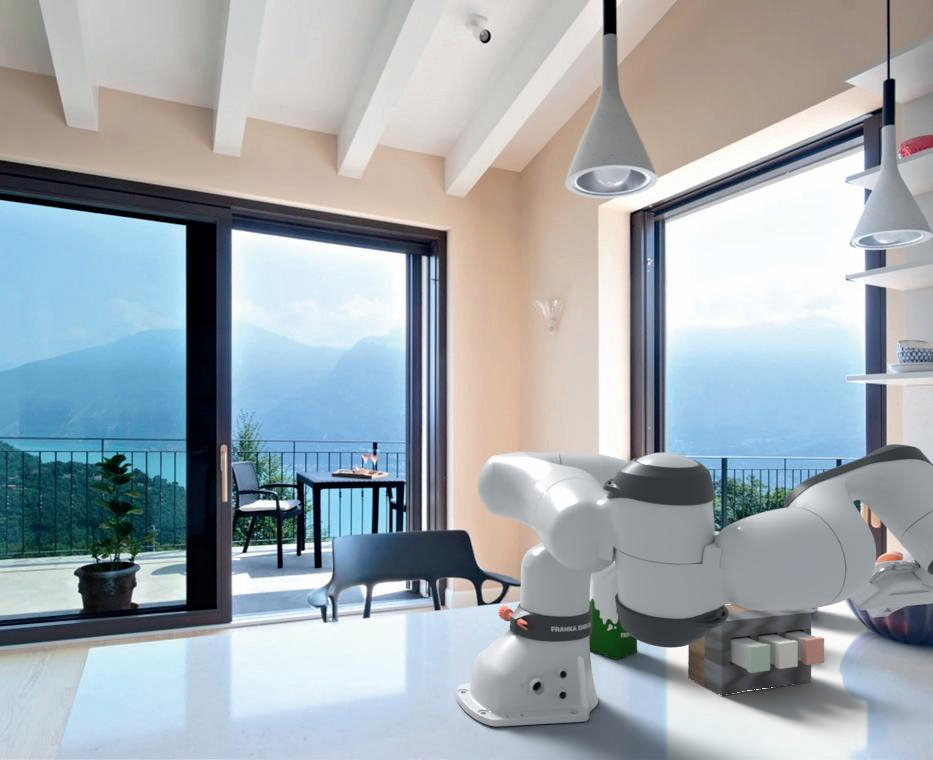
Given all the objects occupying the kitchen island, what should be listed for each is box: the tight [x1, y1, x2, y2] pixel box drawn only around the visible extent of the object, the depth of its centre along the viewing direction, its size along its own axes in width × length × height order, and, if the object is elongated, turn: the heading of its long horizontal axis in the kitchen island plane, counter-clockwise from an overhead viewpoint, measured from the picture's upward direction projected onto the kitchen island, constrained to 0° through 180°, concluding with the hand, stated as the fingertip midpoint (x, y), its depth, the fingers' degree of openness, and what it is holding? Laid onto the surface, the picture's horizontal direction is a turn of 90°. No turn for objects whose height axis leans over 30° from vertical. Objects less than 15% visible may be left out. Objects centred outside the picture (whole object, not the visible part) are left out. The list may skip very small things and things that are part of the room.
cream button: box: [758, 634, 798, 669], centre depth 112 cm, size 4×5×4 cm
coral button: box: [785, 631, 825, 666], centre depth 115 cm, size 4×5×4 cm
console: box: [687, 604, 812, 696], centre depth 118 cm, size 20×8×12 cm, turn 112°
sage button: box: [730, 637, 770, 673], centre depth 110 cm, size 4×5×4 cm
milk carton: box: [589, 561, 638, 661], centre depth 131 cm, size 9×9×20 cm
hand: (875, 613), depth 103 cm, fingers closed
